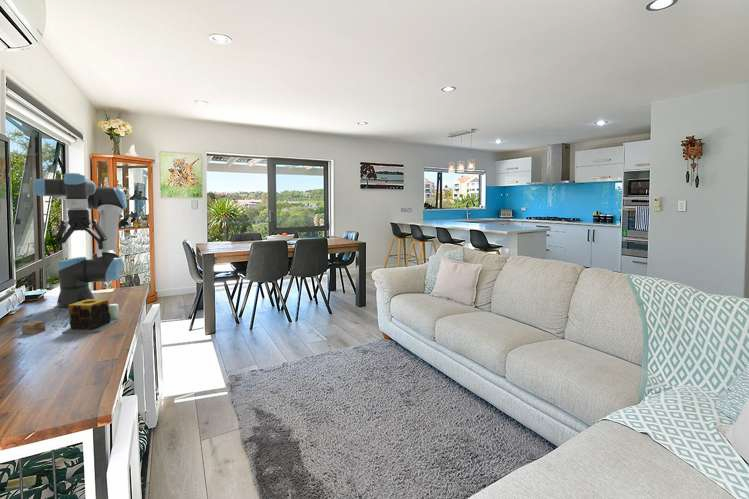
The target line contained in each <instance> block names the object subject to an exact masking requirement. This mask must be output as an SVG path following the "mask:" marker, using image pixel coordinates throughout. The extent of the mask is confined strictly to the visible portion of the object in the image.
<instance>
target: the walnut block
mask: <svg viewBox="0 0 749 499" xmlns="http://www.w3.org/2000/svg"><path fill="white" fill-rule="evenodd" d="M20 326H21V334H22V335H32V336H33V335H37V334H40V333H42V332H46V324H45V320H43V321H42V320H32V321H28V322H25V323H22V324H20Z"/></svg>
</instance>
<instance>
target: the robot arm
mask: <svg viewBox="0 0 749 499" xmlns="http://www.w3.org/2000/svg"><path fill="white" fill-rule="evenodd" d="M32 182H33V183H32V190H33V193H34V194H35V195H36V196H37V197H53V198H56V199H58V200H59V199H60V200H63V201H65V202H66V208H67V209H68V210H67V219H68V220H61V221H60V225H59V226H60V227H59V228H58V230H57V233H56V235H55V238H54V239H53V241H54V243H55V242H56V243H59V248H60V251H62V257H63V259H64V260H60V261H58V262H57V273H58V274H57V275H58V282H59V294H58V298H57V301H56V303H57V307H58V308H61V309H62V308H63V309H64V308H67V309H69V307H68V305H70V304H73V303H77V302H80V301H83V300H87V299H95V297H94V294H93V292H92V290H91V289H90V283H103V282H109V283H110V282H114V281H118V280H119V279H120V278H121V277H122V274H123V272H124V262H123V260H122V258H120V255H119V254H117V247H118V235H119V222H120V220H119V219H120V215H122V214H123V211H124V210H126V209H127V208H128V201H127V196H126V192H125V190H124V189H122V187H97V185H96V184H95V182H94V181H92V180H90V179H87V178H86V175H85V174H84V173H77V172H76V173H75V172H72V173H71V172H67V173H65V174H63V178H36V179H34V181H32ZM88 209H89V210H97V212H98V213H99V221H98V220H97V219H94V220H90V211H89V210H88ZM68 225H69V227H68V229H67V231H66V228H67V226H68ZM90 225H91V226H92V227H93V228H92V227H91V226H90ZM94 230H95V231H94ZM65 231H66V232H65ZM76 231H77V232H78V231H81V232H83V231H84V232H87V233H88V234H89V235H90V236H91V237H92V238H93V239H94V240H95V241H96V242H95V253H93V254H92V258H90V259H88V258H87V257H86V256H77V257H72V258H70V253H69V247H68V244H69V243H68V242H67V241H68V239H69V238H70V237H71V236H72V234H73V233H74V232H76Z"/></svg>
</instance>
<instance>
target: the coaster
mask: <svg viewBox="0 0 749 499" xmlns="http://www.w3.org/2000/svg"><path fill="white" fill-rule="evenodd" d="M118 321H119V320H118V319H114V320H110V323H107V324H105V325H102V326H100V327H97V328H94V329H91V330H90V329H71V328H70V327H69V328H67V329H66V330H63V331H61V334H81V333H83V334H84V333H99V332H103V331H104V330H106V329H107V328H109V327H111V326H112V325H114V324H115V323H117V322H118Z"/></svg>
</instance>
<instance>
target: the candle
mask: <svg viewBox="0 0 749 499" xmlns="http://www.w3.org/2000/svg"><path fill="white" fill-rule="evenodd" d="M109 303H110V302H109V299H104V298H103V299H101V298H97V299H96V298H94V299H87V300H83V301H80V302H77V303H73V304H70V305H68V309H69V311H68V312H69V313H68V314H69V325H70V326H69V328H71V329H90V330H91V329H94V328H97V327H100V326H102V325H105V324H107V323H110V318H111V317H110V312H109Z"/></svg>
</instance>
